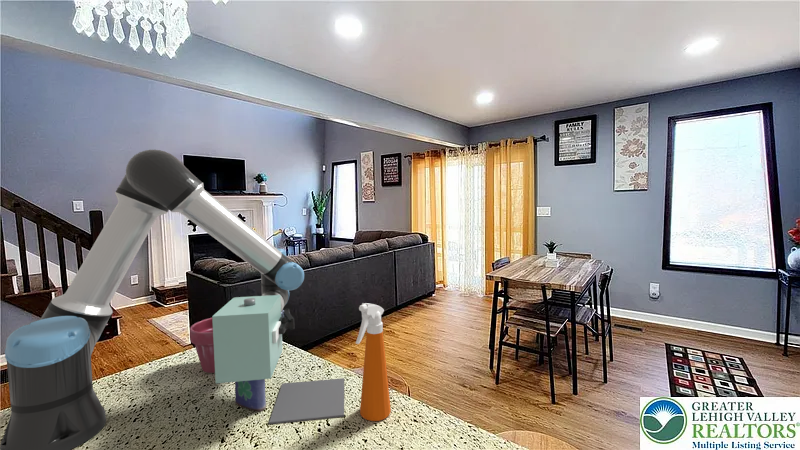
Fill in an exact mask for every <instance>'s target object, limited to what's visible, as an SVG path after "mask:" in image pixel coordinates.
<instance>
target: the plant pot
mask: <svg viewBox="0 0 800 450" xmlns="http://www.w3.org/2000/svg"><path fill="white" fill-rule="evenodd" d="M189 339H190V340H189V341H190V343H191V344H193V345H194V347H195V350H196V353H197V357H198V359H199V362H200V366H201V369H202V371H203V372H204V373H206V374H215V361H214V341H213V321H212V317H210V318H209V317H208V318H205V319H202V320H201V321H197V322H195V323H194V324H192V325H191V326H190V328H189Z"/></svg>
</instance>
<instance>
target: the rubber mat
mask: <svg viewBox="0 0 800 450" xmlns="http://www.w3.org/2000/svg"><path fill="white" fill-rule="evenodd" d="M342 417H345V378H331V379H319V380H309V381H308V380H307V381H296V382H283V383H281V386H280V389H279V393H278V396H277V397H276V401H275V404H274V407H273V410H272V413H271V415H270V419H269V421H268V425H273V424H274V425H275V424H285V423H286V424H287V423H295V422H301V421H315V420H322V419H333V418H342Z"/></svg>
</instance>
